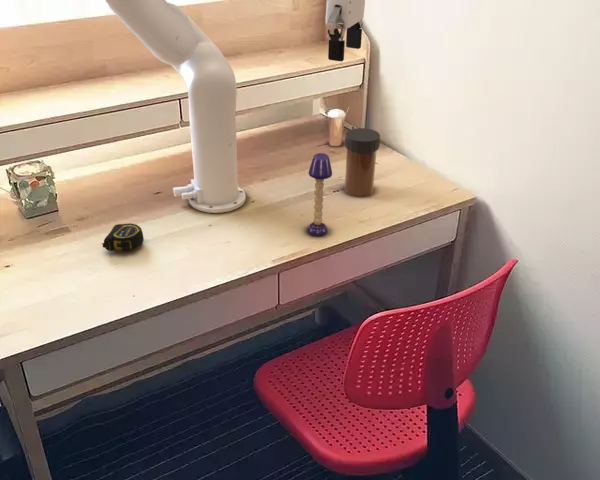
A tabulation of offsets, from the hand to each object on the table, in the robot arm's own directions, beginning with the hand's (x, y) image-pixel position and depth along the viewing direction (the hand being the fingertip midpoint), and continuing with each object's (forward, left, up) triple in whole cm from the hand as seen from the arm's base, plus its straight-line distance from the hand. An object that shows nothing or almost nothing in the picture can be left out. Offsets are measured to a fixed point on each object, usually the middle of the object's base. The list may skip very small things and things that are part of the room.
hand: (344, 53), depth 140 cm
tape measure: (-51, -10, -31) cm, 60 cm away
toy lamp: (-12, -17, -31) cm, 37 cm away
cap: (+4, -3, -17) cm, 18 cm away
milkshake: (+10, +23, -31) cm, 39 cm away
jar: (+4, -3, -30) cm, 31 cm away
